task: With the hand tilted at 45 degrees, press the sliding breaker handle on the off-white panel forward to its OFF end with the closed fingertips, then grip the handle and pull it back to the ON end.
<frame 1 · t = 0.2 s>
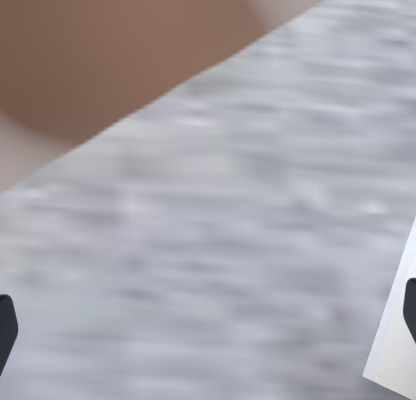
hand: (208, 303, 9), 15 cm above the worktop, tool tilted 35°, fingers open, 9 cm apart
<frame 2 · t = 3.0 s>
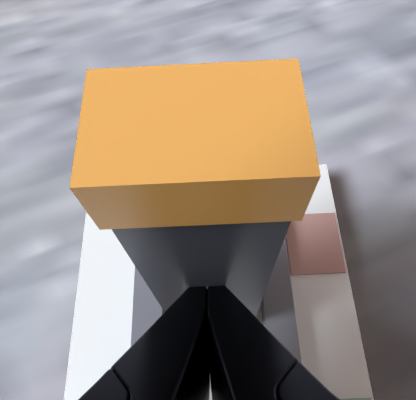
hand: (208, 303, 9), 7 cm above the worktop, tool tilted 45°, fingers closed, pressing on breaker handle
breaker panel: (214, 322, 15), on the worktop
breaker handle: (207, 256, 9), point 7 cm above the worktop, slide at 0.3 cm, touching gripper
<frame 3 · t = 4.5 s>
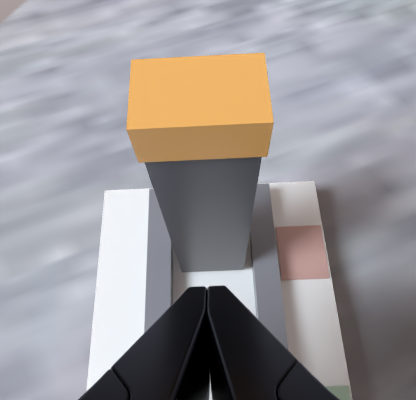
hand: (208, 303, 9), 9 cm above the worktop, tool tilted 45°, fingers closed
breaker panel: (215, 320, 18), on the worktop
breaker handle: (207, 201, 12), point 7 cm above the worktop, slide at 2.6 cm
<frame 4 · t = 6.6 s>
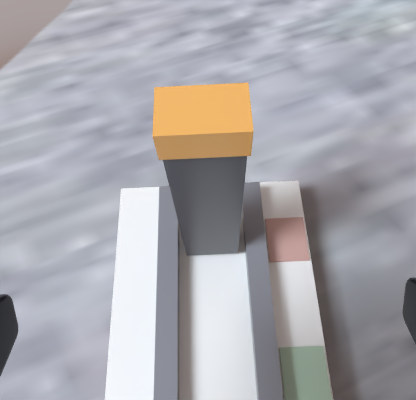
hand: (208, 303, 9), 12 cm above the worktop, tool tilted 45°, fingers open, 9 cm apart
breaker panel: (214, 297, 21), on the worktop
breaker handle: (208, 192, 16), point 7 cm above the worktop, slide at 2.6 cm
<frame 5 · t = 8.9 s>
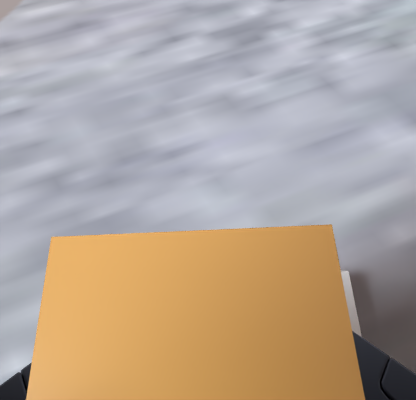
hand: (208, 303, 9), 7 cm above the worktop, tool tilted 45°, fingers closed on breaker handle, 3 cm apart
breaker handle: (209, 367, 8), point 7 cm above the worktop, slide at 2.6 cm, touching gripper
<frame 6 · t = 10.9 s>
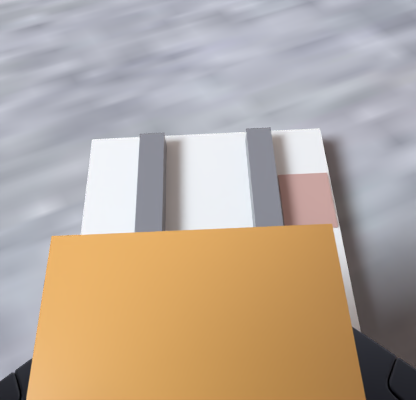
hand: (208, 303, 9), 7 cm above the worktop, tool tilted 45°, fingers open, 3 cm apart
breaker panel: (211, 277, 16), on the worktop
breaker handle: (209, 367, 8), point 7 cm above the worktop, slide at -3.8 cm
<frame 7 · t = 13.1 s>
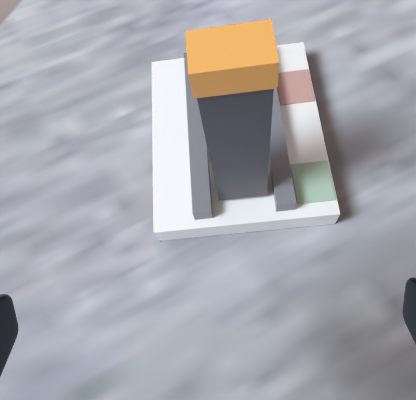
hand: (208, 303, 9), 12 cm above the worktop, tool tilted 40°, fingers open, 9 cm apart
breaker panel: (235, 142, 25), on the worktop
breaker handle: (237, 134, 17), point 7 cm above the worktop, slide at -3.8 cm
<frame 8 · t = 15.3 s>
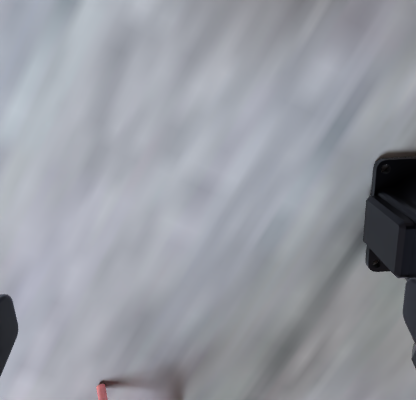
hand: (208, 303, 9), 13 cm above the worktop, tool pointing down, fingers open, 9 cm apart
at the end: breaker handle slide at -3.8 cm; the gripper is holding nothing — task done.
